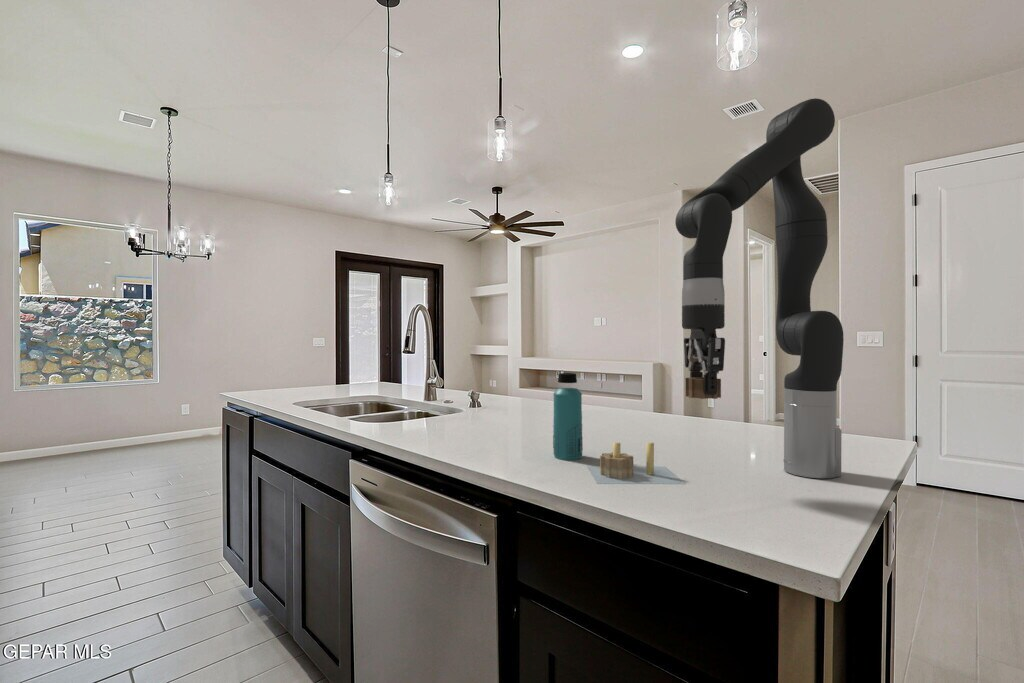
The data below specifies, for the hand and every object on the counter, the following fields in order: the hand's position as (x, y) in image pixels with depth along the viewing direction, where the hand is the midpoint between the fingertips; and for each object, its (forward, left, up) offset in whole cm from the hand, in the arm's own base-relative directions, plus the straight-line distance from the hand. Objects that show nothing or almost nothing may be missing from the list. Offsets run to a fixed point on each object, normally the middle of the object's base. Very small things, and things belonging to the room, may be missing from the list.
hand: (703, 392), depth 92 cm
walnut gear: (0, 0, -1) cm, 1 cm away
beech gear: (+16, -1, -16) cm, 23 cm away
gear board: (+13, -1, -17) cm, 22 cm away
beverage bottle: (+24, -15, -18) cm, 33 cm away
